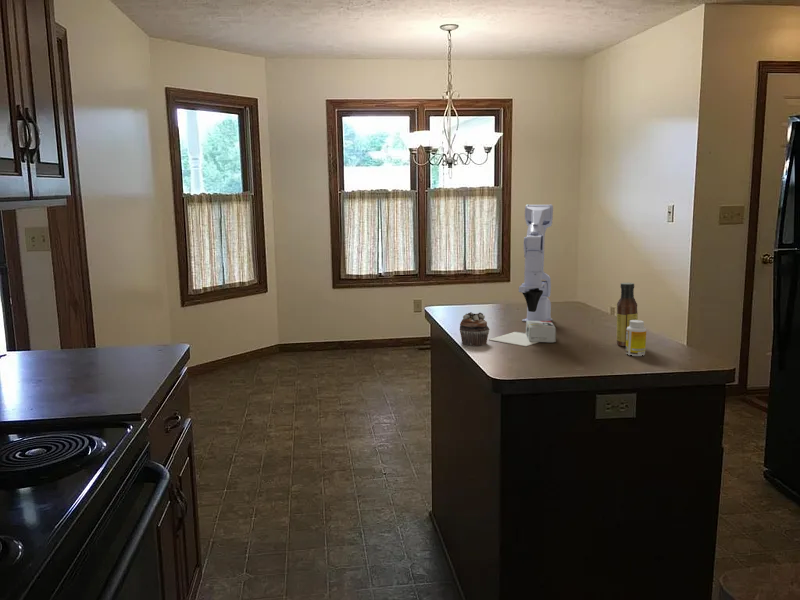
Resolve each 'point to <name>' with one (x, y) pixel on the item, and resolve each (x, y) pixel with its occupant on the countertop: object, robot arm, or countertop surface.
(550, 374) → the countertop surface
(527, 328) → the ink box
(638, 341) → the supplement bottle
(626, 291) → the sauce bottle
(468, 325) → the cupcake
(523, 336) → the mat
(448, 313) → the countertop surface
